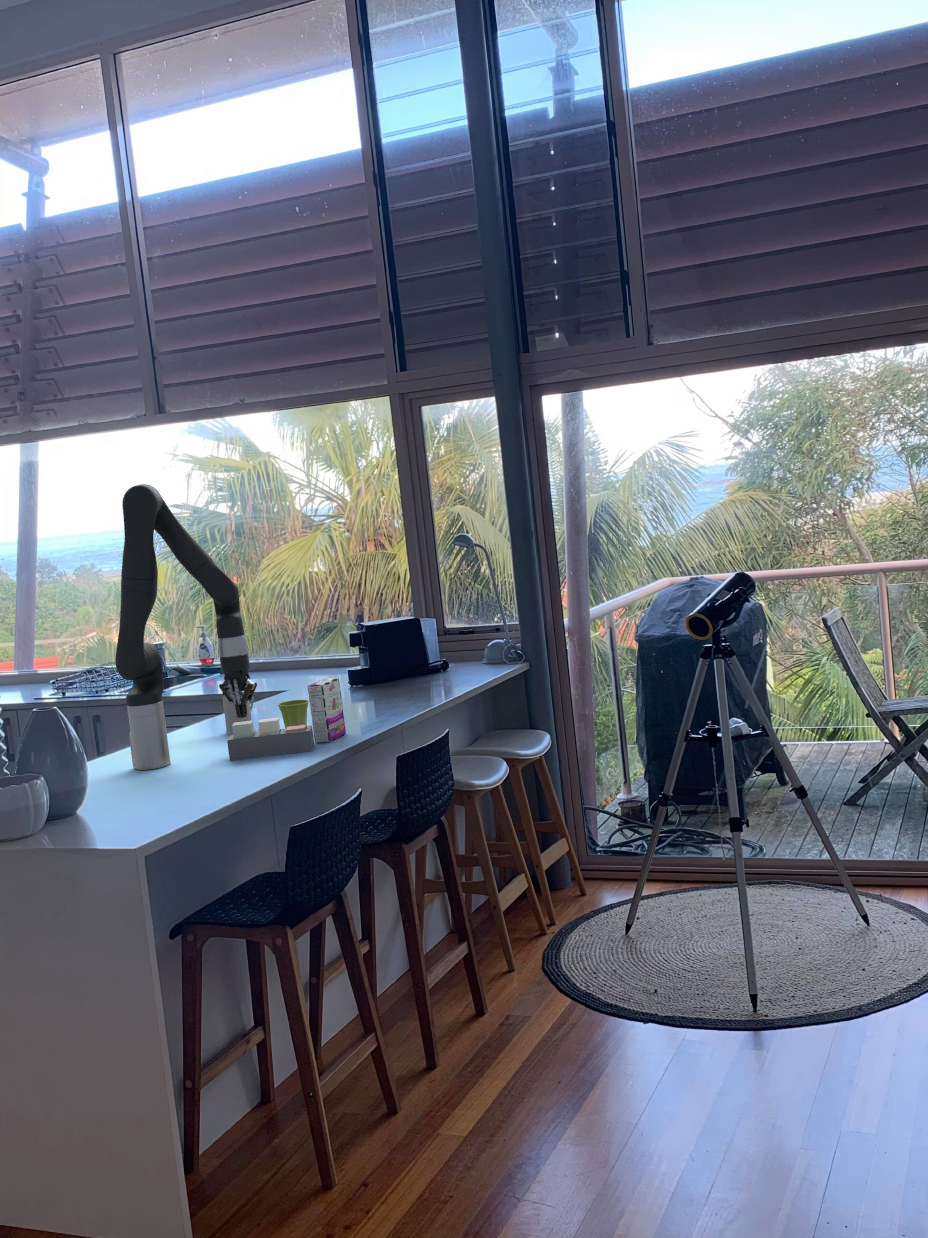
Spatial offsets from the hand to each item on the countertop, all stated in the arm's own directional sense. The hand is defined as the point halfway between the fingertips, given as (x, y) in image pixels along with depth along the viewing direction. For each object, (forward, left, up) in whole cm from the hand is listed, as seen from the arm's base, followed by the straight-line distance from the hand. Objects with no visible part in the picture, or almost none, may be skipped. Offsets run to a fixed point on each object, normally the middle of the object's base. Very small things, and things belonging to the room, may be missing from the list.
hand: (242, 717), depth 306 cm
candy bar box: (+9, +23, -11) cm, 27 cm away
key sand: (+5, +5, -7) cm, 9 cm away
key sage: (0, 0, -7) cm, 7 cm away
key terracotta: (+10, +9, -9) cm, 17 cm away
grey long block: (+5, +5, -11) cm, 13 cm away
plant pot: (-11, +31, -11) cm, 34 cm away
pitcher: (-32, +30, -11) cm, 45 cm away
